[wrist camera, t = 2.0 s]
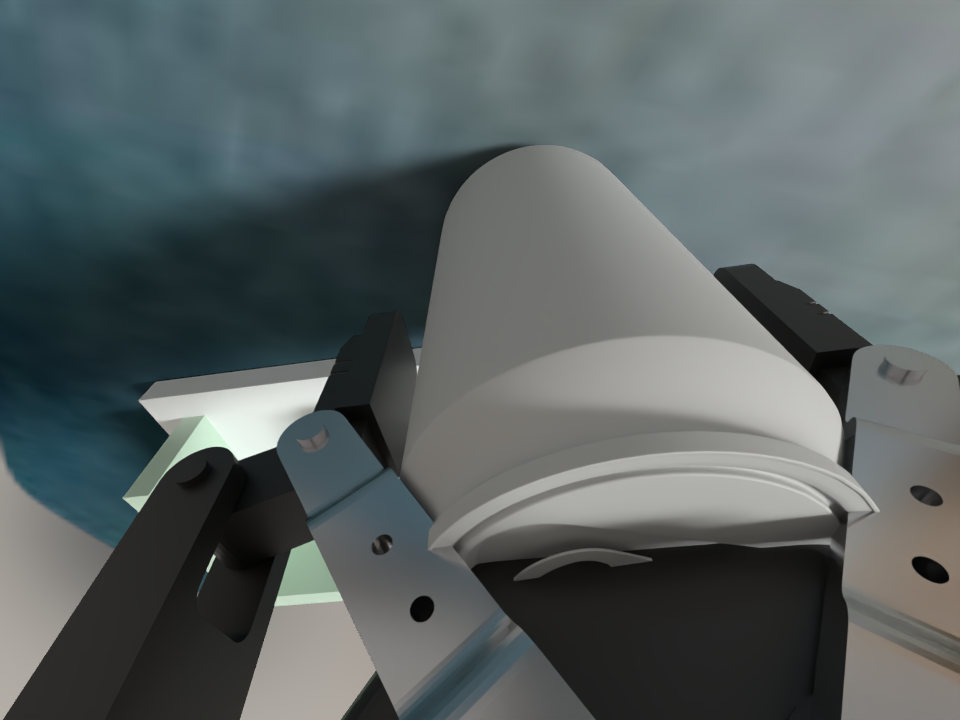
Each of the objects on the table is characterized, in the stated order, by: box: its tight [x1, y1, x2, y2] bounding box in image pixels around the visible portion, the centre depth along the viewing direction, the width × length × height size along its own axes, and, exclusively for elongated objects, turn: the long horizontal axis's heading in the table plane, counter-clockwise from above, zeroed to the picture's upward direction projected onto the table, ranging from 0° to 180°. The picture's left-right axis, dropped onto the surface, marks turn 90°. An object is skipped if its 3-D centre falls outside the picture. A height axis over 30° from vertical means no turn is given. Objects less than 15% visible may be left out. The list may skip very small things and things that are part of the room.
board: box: [138, 348, 422, 460], centre depth 19 cm, size 11×22×4 cm, turn 98°
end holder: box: [123, 415, 343, 606], centre depth 19 cm, size 10×10×4 cm
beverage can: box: [399, 145, 880, 581], centre depth 10 cm, size 6×6×12 cm
